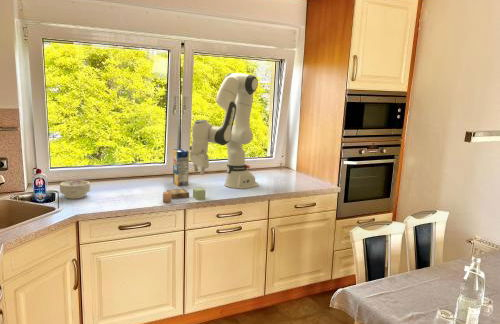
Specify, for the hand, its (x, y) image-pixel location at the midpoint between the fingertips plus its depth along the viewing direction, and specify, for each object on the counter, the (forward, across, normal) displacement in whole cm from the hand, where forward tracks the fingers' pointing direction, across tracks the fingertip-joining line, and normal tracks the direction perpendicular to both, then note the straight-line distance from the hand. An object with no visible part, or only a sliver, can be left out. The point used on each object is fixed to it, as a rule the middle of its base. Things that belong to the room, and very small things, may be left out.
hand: (198, 173), depth 214 cm
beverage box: (+15, +34, -1) cm, 37 cm away
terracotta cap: (+15, -1, +18) cm, 24 cm away
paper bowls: (+16, +25, +62) cm, 69 cm away
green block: (+15, 0, -1) cm, 15 cm away
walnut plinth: (+15, +8, +9) cm, 19 cm away
